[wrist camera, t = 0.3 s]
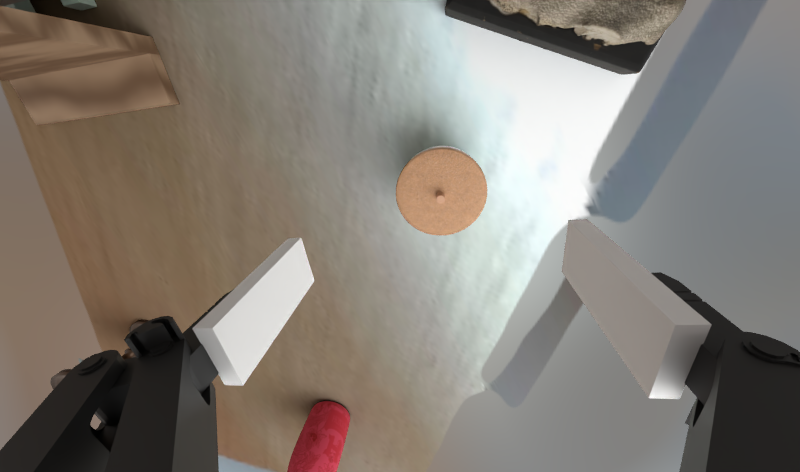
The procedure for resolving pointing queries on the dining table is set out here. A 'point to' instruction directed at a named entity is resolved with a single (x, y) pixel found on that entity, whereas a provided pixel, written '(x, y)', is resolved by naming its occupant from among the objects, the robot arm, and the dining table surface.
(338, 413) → the red flared column
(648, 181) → the dining table surface
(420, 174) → the lidded jar
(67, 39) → the wall board
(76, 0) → the pale green block
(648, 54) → the coral
